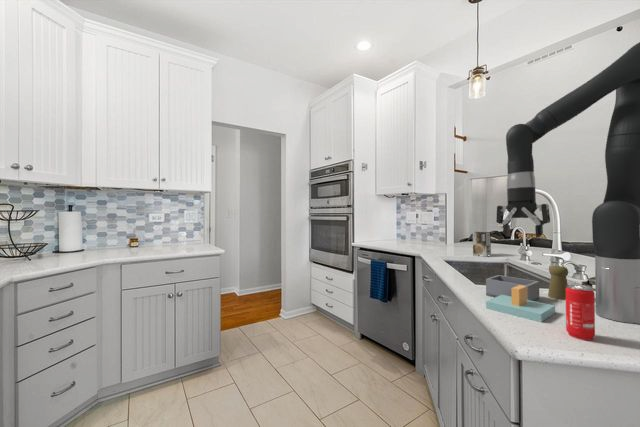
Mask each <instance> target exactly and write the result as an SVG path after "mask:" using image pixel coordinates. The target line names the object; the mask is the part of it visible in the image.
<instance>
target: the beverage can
mask: <svg viewBox="0 0 640 427" xmlns="http://www.w3.org/2000/svg"><path fill="white" fill-rule="evenodd" d="M595 316H596V297H595V291H594V289H593V288H592V287H590V286H587V285H578V284H568V285H567V288H566V300H565V328H566V329H565V330H566V331H567V334H568V335H569V336H570V337H572V338H574V339H577V340H580V341H581V340H582V341H592V340H593V339H594V337H595V336H596V322H595V321H596V319H595V318H596V317H595Z"/></svg>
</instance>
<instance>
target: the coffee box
mask: <svg viewBox="0 0 640 427" xmlns="http://www.w3.org/2000/svg"><path fill="white" fill-rule="evenodd" d="M491 236H492V235H491V231H473V232H472V253H473V254H472V256H474V255H483V256H482V257H484V256H488V255H491V256H492V245H491V244H492V243H491V242H492V241H491ZM488 257H489V256H488Z"/></svg>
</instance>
